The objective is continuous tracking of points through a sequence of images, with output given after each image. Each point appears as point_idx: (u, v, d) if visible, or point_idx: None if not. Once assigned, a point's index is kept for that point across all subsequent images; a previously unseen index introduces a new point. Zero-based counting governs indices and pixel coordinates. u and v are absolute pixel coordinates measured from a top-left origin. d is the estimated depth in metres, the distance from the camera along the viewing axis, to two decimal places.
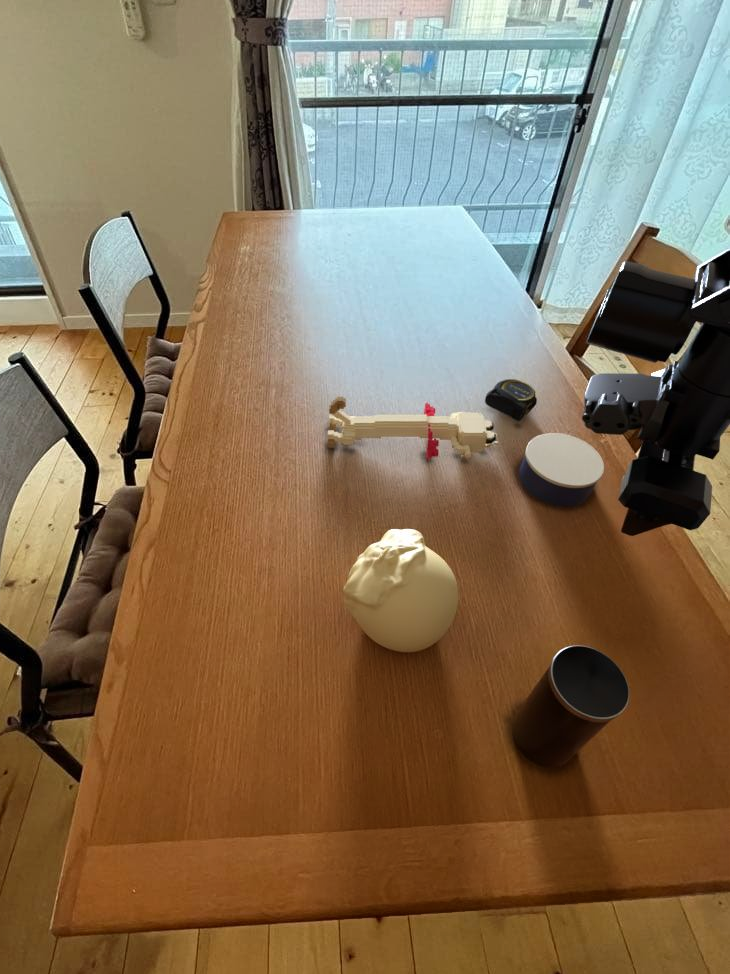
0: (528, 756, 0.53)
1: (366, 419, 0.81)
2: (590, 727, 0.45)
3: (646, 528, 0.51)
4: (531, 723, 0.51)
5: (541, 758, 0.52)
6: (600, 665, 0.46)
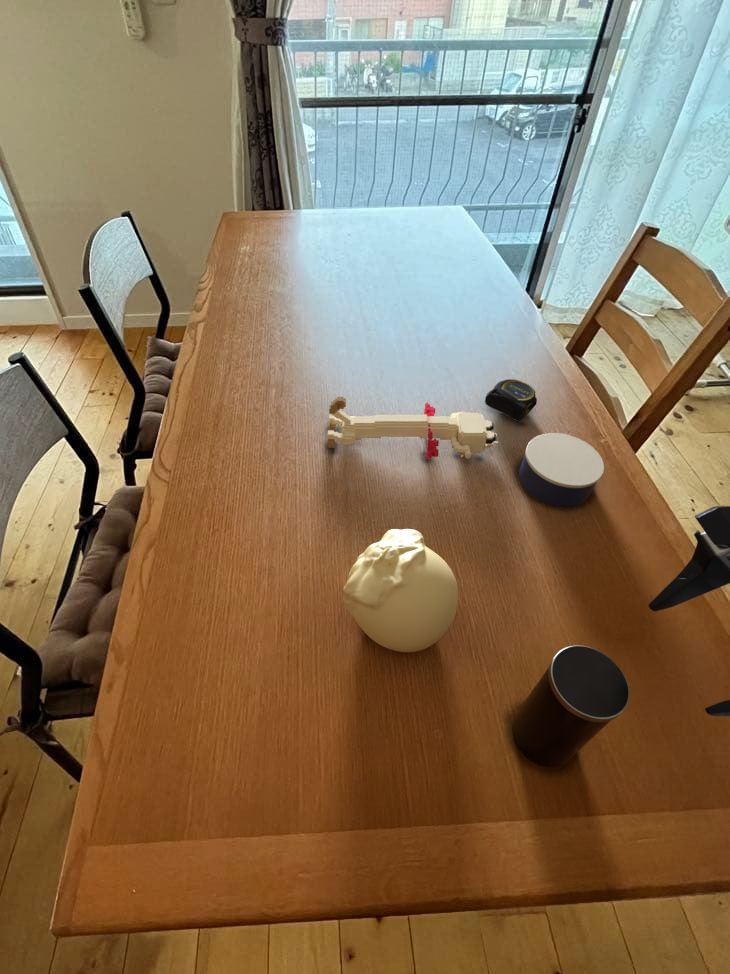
0: (528, 756, 0.53)
1: (366, 419, 0.81)
2: (590, 727, 0.45)
3: None
4: (531, 723, 0.51)
5: (541, 758, 0.52)
6: (600, 665, 0.46)
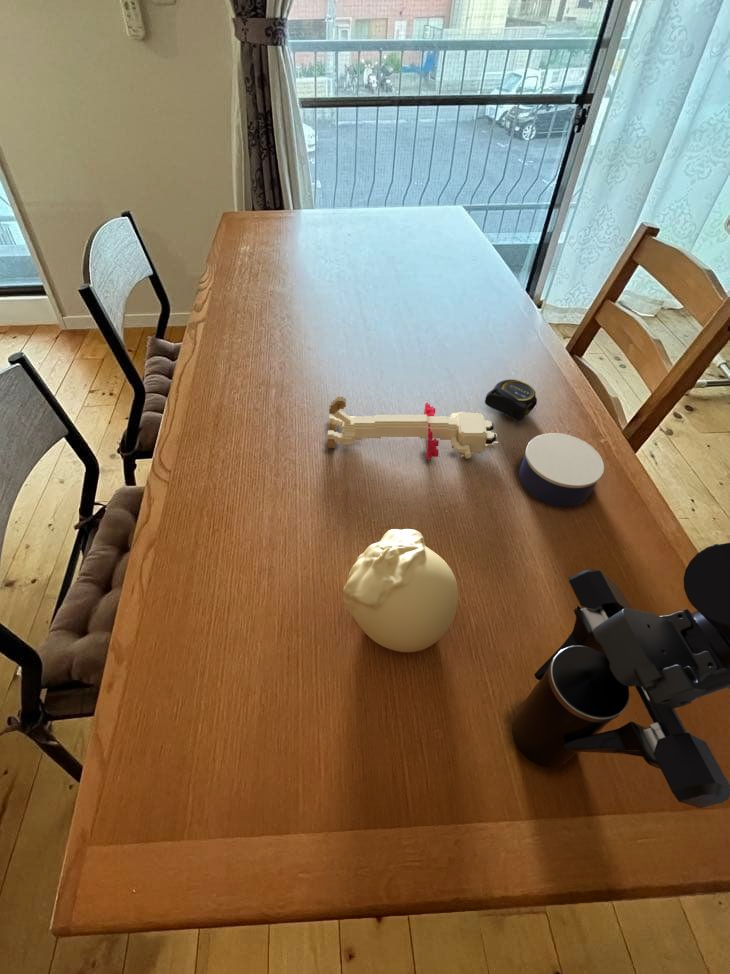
0: (528, 756, 0.53)
1: (366, 419, 0.81)
2: (590, 727, 0.45)
3: (597, 752, 0.47)
4: (531, 723, 0.51)
5: (541, 758, 0.52)
6: (600, 665, 0.46)
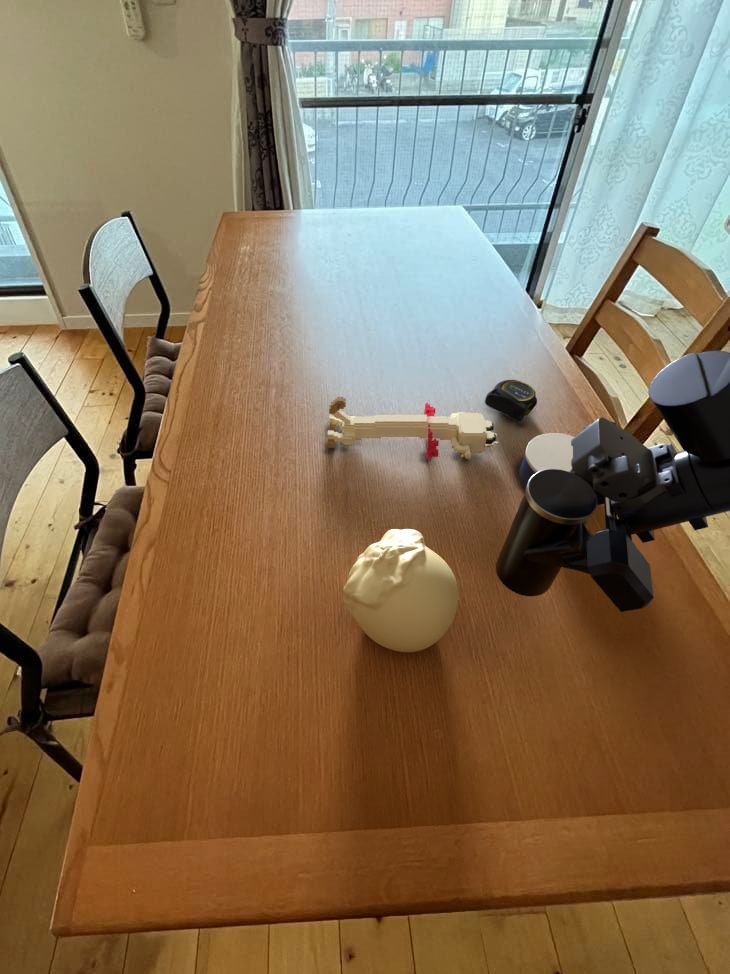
0: (501, 578, 0.59)
1: (366, 419, 0.81)
2: (548, 529, 0.50)
3: (553, 563, 0.52)
4: (508, 538, 0.56)
5: (510, 577, 0.57)
6: (578, 487, 0.51)
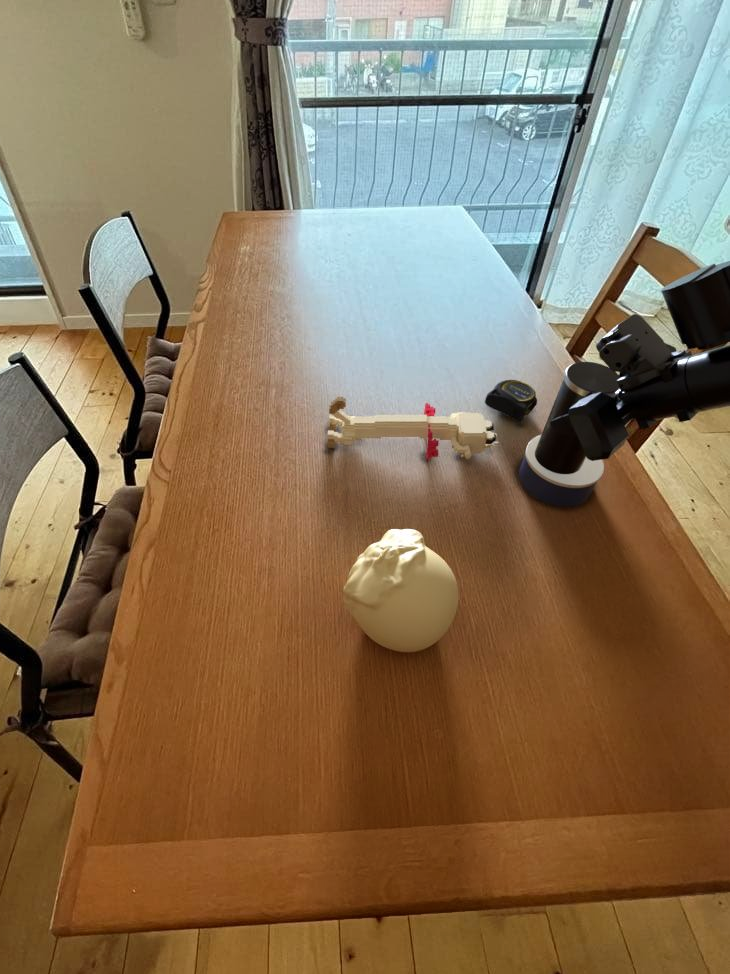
0: (535, 452, 0.72)
1: (366, 419, 0.81)
2: (570, 400, 0.64)
3: (566, 431, 0.65)
4: None
5: (540, 450, 0.71)
6: (610, 378, 0.63)
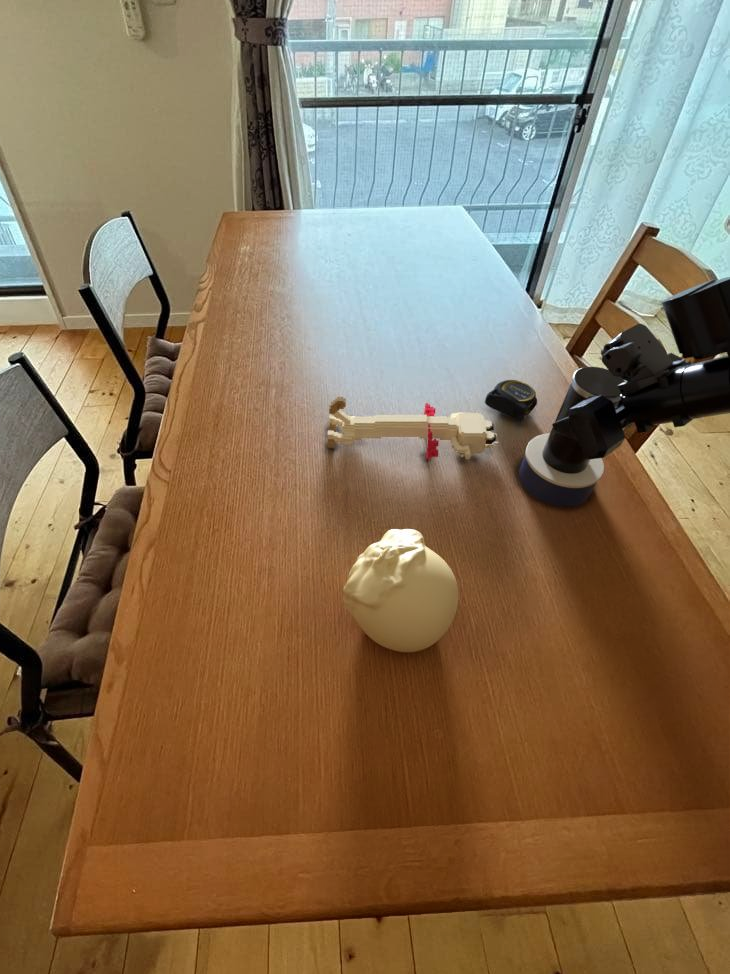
0: (543, 451, 0.76)
1: (366, 419, 0.81)
2: (575, 402, 0.67)
3: (567, 434, 0.68)
4: None
5: (547, 449, 0.74)
6: (616, 383, 0.66)
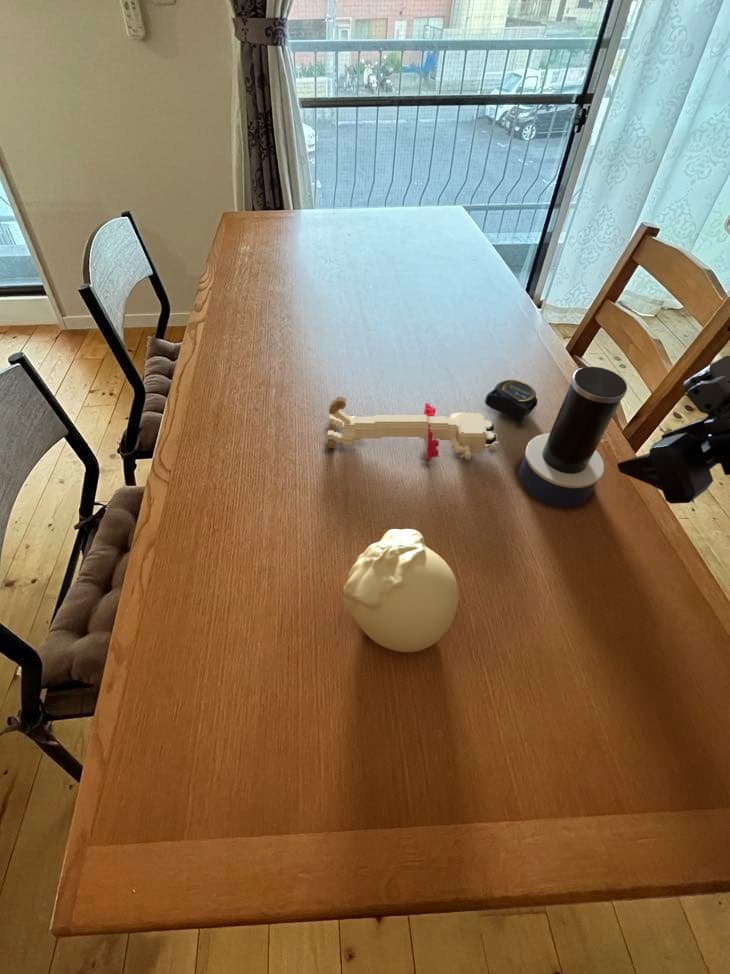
0: (543, 451, 0.76)
1: (366, 419, 0.81)
2: (575, 402, 0.67)
3: (635, 476, 0.62)
4: None
5: (547, 449, 0.74)
6: (616, 383, 0.66)
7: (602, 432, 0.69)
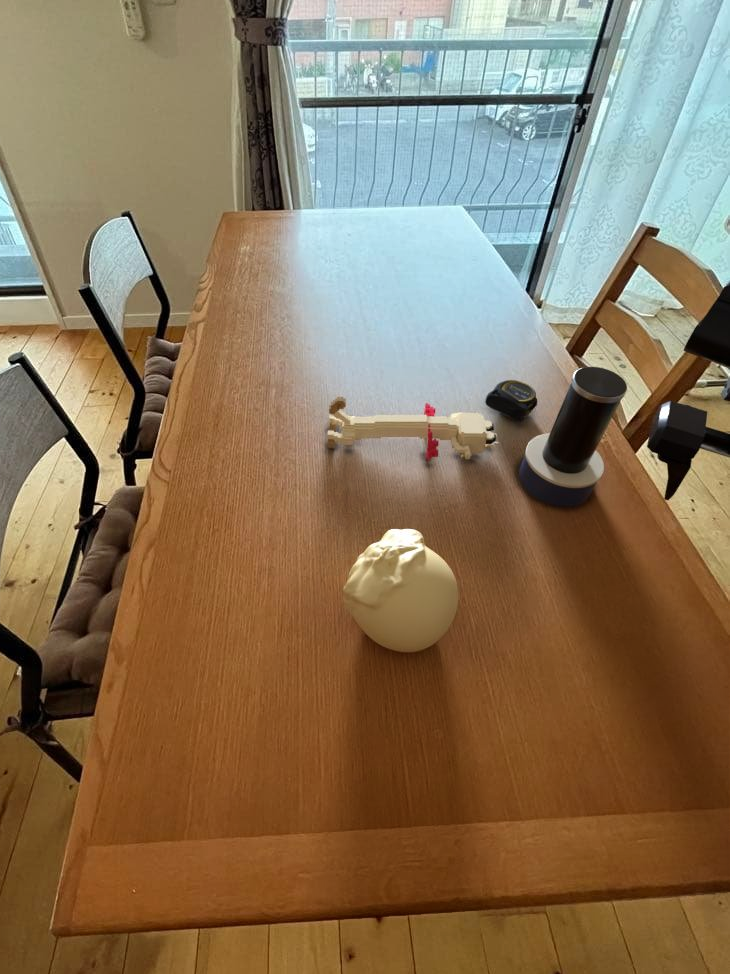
0: (543, 451, 0.76)
1: (366, 419, 0.81)
2: (575, 402, 0.67)
3: None
4: None
5: (547, 449, 0.74)
6: (616, 383, 0.66)
7: (602, 432, 0.69)
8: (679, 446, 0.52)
